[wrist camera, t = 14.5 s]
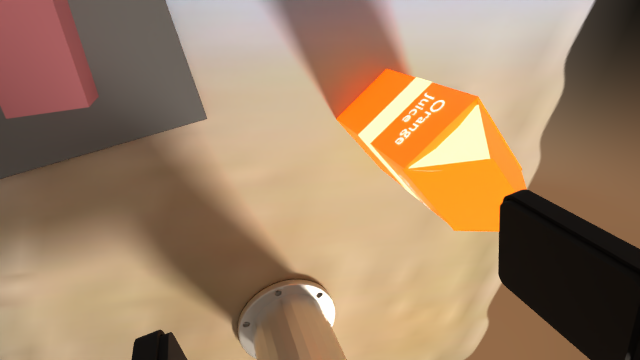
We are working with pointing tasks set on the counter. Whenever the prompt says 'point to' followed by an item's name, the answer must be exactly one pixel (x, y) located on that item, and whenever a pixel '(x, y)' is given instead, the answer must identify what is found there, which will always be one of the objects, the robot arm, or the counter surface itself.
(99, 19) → the mat
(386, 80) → the orange juice
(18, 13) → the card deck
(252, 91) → the counter surface
